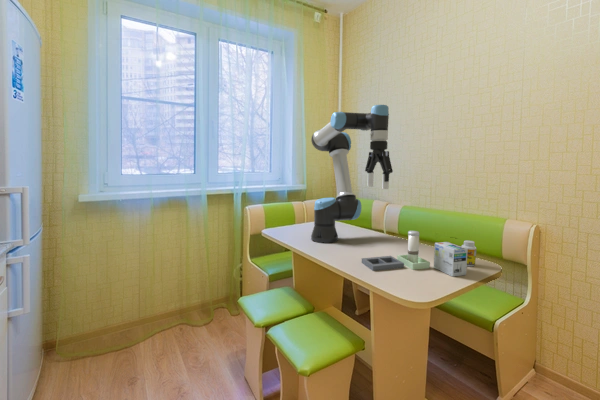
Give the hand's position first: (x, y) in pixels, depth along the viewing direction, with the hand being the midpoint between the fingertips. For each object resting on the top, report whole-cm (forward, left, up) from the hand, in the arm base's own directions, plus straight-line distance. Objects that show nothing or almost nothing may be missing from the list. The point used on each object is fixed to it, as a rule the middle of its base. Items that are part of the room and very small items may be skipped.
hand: (377, 187), depth 136 cm
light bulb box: (+27, +18, -32) cm, 46 cm away
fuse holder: (+15, -5, -32) cm, 35 cm away
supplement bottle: (+23, +31, -32) cm, 50 cm away
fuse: (+18, +8, -31) cm, 37 cm away
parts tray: (+18, +8, -32) cm, 37 cm away
